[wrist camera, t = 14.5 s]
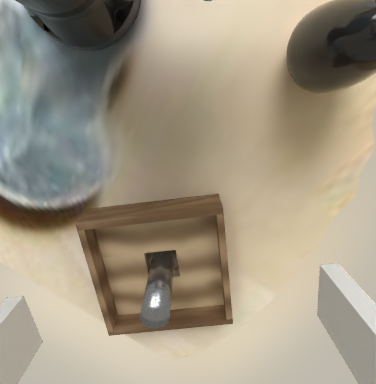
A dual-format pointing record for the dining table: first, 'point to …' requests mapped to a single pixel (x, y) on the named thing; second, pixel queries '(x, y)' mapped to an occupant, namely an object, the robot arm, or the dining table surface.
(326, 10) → the pump dispenser
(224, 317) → the box
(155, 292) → the peg
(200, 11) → the dining table surface
